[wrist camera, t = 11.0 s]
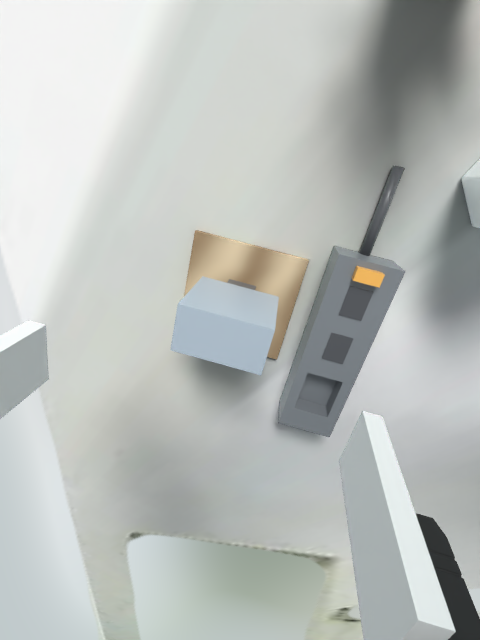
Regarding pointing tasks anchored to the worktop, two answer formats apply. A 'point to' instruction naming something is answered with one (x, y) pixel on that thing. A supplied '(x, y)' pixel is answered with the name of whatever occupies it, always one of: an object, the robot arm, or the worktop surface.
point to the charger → (226, 324)
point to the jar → (473, 193)
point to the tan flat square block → (249, 273)
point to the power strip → (341, 328)
